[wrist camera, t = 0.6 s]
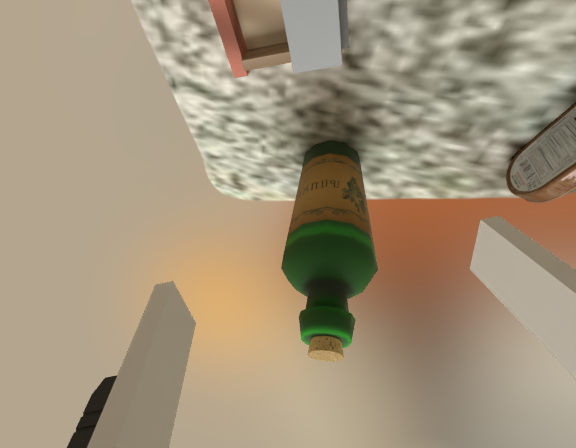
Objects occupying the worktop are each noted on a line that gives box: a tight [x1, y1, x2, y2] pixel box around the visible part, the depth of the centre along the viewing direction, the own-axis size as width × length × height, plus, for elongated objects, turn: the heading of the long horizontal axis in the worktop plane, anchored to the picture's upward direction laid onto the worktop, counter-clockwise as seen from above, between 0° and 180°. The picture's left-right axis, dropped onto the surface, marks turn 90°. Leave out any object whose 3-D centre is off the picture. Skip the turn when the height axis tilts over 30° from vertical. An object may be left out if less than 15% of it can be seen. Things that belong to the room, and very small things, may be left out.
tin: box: [506, 104, 576, 203], centre depth 33 cm, size 15×3×8 cm, turn 162°
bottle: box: [281, 141, 378, 361], centre depth 35 cm, size 11×11×28 cm
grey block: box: [280, 0, 349, 73], centre depth 24 cm, size 6×5×9 cm
